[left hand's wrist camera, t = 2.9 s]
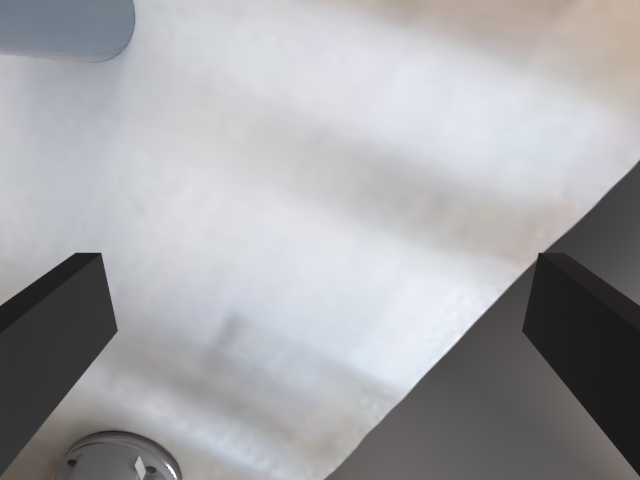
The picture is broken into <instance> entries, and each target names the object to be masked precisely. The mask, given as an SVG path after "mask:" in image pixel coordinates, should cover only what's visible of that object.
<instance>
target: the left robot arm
mask: <svg viewBox="0 0 640 480" xmlns="http://www.w3.org/2000/svg"><path fill="white" fill-rule="evenodd" d="M117 331H118V330H117V325H116V320H115V316H114V311H113V306H112V302H111V297H110V292H109V287H108V283H107V278H106V273H105V268H104V264H103V259H102V254H101V253H75V254H73V255H72V256H70V257H69V258H68V259H66V260H65V261H63V262H62V263H61V264H59V265H58V266H56V267H55V268H53V269H52V270H51V271H49V272H48V273H46V274H45V275H43V276H42V277H41V278H39V279H38V280H36V281H35V282H34V283H32V284H31V285H29V286H28V287H26V288H25V289H24V290H22V291H21V292H19V293H18V294H17V295H15V296H14V297H12V298H11V299H9V300H8V301H7V302H5V303H4V304H2V305H1V306H0V476H1V475H2V474H3V472H4V471H5V470H6V469H7V467H8V466H9V465H10V464H11V463H12V461H13V460H14V459H15V458H16V456H17V455H18V454H19V453H20V451H21V450H22V449H23V448H24V446H25V445H26V444H27V443H28V441H29V440H30V439H31V438H32V437H33V435H34V434H35V433H36V432H37V430H38V429H39V428H40V427H41V425H42V424H43V423H44V422H45V420H46V419H47V418H48V417H49V415H50V414H51V413H52V412H53V411H54V409H55V408H56V407H57V406H58V404H59V403H60V402H61V401H62V399H63V398H64V397H65V396H66V394H67V393H68V392H69V391H70V390H71V388H72V387H73V386H74V385H75V383H76V382H77V381H78V380H79V378H80V377H81V376H82V375H83V373H84V372H85V371H86V370H87V368H88V367H89V366H90V365H91V364H92V362H93V361H94V360H95V359H96V357H97V356H98V355H99V354H100V352H101V351H102V350H103V349H104V347H105V346H106V345H107V344H108V342H109V341H110V340H111V339H112V338H113V336H114V335H115V334H116V333H117ZM522 331H523V333H524V334H525V335H526V336H527V337H528V339H529V340H530V341H531V342H532V344H533V345H534V346H535V347H536V349H537V350H538V351H539V352H540V354H541V355H542V356H543V357H544V359H545V360H546V361H547V362H548V364H549V365H550V366H551V367H552V368H553V370H554V371H555V372H556V373H557V375H558V376H559V377H560V378H561V380H562V381H563V382H564V383H565V385H566V386H567V387H568V388H569V389H570V391H571V392H572V393H573V394H574V396H575V397H576V398H577V399H578V401H579V402H580V403H581V404H582V406H583V407H584V408H585V409H586V410H587V412H588V413H589V414H590V415H591V417H592V418H593V419H594V420H595V422H596V423H597V424H598V425H599V427H600V428H601V429H602V430H603V431H604V433H605V434H606V435H607V436H608V438H609V439H610V440H611V441H612V443H613V444H614V445H615V446H616V448H617V449H618V450H619V451H620V453H621V454H622V455H623V456H624V458H625V459H626V460H627V461H628V463H629V464H630V465H631V466H632V467H633V469H634V470H635V471H636V472H637V474H638V475H639V476H640V306H639V305H638V304H636V303H635V302H633V301H632V300H631V299H629V298H628V297H626V296H625V295H623V294H622V293H621V292H619V291H618V290H616V289H615V288H614V287H612V286H611V285H609V284H608V283H606V282H605V281H604V280H602V279H601V278H599V277H598V276H597V275H595V274H594V273H592V272H591V271H589V270H588V269H587V268H585V267H584V266H582V265H581V264H579V263H578V262H577V261H575V260H574V259H572V258H571V257H570V256H568V255H567V254H565V253H539V254H538V259H537V264H536V269H535V273H534V278H533V283H532V287H531V292H530V297H529V302H528V306H527V311H526V316H525V321H524V325H523V330H522Z"/></svg>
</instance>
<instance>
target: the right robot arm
mask: <svg viewBox="0 0 640 480" xmlns="http://www.w3.org/2000/svg"><path fill="white" fill-rule="evenodd" d="M55 480H182V479H181V473H180V470H179V467H178V465H177V464H176V462H175V460H174V459H173V458H172V457H171V456H170V455H169V453H168V452H166V451H165V450H164V449H163V448H161V447H160V446H159V445H157V444H155V443H154V442H152V441H150V440H148V439H145V438H143V437H140V436H137V435H133V434H128V433H121V432H105V433H98V434H94V435H91V436H88V437H86V438H84V439H82V440H80V441H78V442H77V443H76V444H75V445H74V446H73V447H72V448H71V449H70V450H69V452H68V453H67V455H66V456H65V458H64V459H63V460H62V462H61V464H60V466H59V468H58V471H57V474H56V477H55Z"/></svg>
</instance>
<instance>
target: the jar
mask: <svg viewBox="0 0 640 480" xmlns="http://www.w3.org/2000/svg"><path fill="white" fill-rule="evenodd" d="M134 23H135V12H134V5H133V1H132V0H0V55H11V56H24V57H36V58H48V59H60V60H73V61H85V62H102V61H106V60H109V59H111V58H114V57H115V56H117V55H118V54H119V53H121V52H122V51H123V50H124V48H125V47H126V46H127V44H128V43H129V41H130V39H131V36H132V33H133V29H134Z"/></svg>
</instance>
